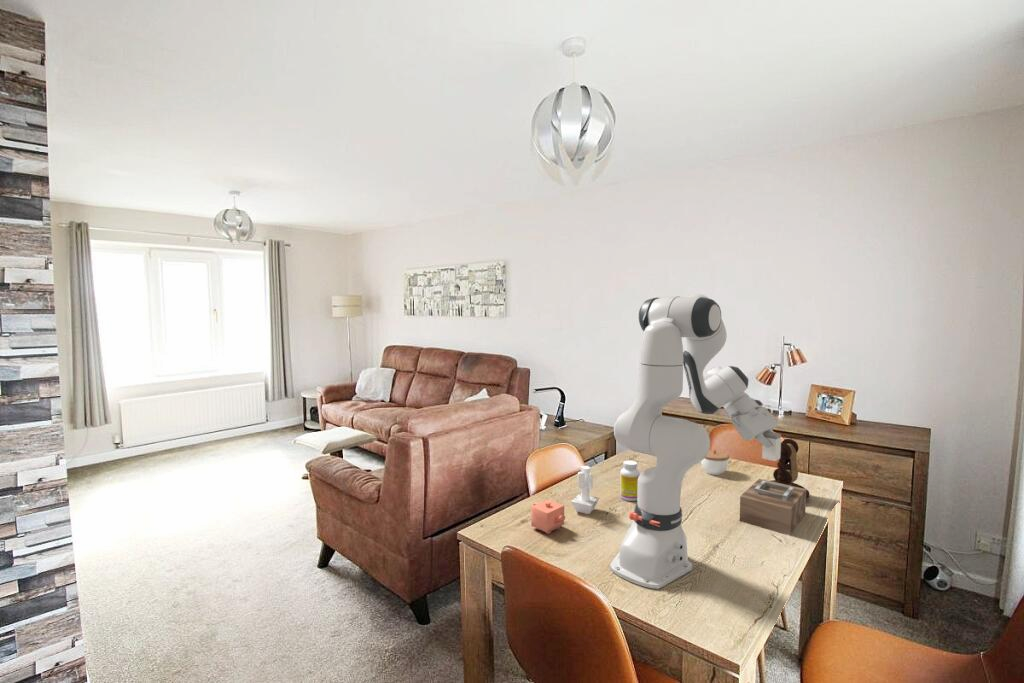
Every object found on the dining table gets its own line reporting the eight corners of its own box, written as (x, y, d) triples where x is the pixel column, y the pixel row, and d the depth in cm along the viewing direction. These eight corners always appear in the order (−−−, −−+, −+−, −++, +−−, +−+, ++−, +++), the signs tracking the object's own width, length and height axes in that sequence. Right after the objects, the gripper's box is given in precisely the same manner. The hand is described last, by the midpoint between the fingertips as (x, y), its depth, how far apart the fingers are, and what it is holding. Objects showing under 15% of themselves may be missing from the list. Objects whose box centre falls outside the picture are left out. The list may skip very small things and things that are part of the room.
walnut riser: (789, 535, 138) (791, 504, 137) (739, 520, 147) (740, 491, 146) (805, 513, 152) (806, 484, 151) (758, 501, 162) (759, 474, 161)
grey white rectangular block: (775, 461, 146) (776, 436, 146) (761, 458, 149) (762, 433, 149) (780, 458, 149) (781, 433, 148) (766, 455, 152) (767, 431, 151)
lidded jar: (733, 477, 184) (734, 454, 183) (706, 477, 184) (706, 454, 184) (721, 467, 195) (722, 445, 194) (695, 468, 195) (696, 446, 194)
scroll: (800, 508, 156) (803, 449, 154) (754, 495, 167) (756, 440, 165) (815, 496, 165) (817, 441, 164) (770, 484, 176) (772, 432, 175)
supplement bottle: (640, 502, 162) (640, 466, 161) (620, 501, 163) (620, 465, 162) (638, 494, 168) (639, 459, 167) (620, 493, 170) (620, 458, 169)
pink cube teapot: (556, 540, 137) (556, 512, 136) (526, 526, 145) (526, 500, 144) (572, 531, 142) (572, 504, 141) (543, 518, 151) (543, 493, 150)
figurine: (600, 507, 158) (600, 464, 157) (590, 518, 150) (590, 472, 149) (580, 502, 162) (580, 460, 161) (569, 513, 154) (569, 469, 152)
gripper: (736, 409, 146) (768, 446, 139) (762, 400, 159) (793, 433, 153) (721, 420, 150) (752, 457, 143) (748, 410, 163) (777, 444, 157)
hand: (773, 445), depth 148 cm, fingers closed on grey white rectangular block, 4 cm apart
